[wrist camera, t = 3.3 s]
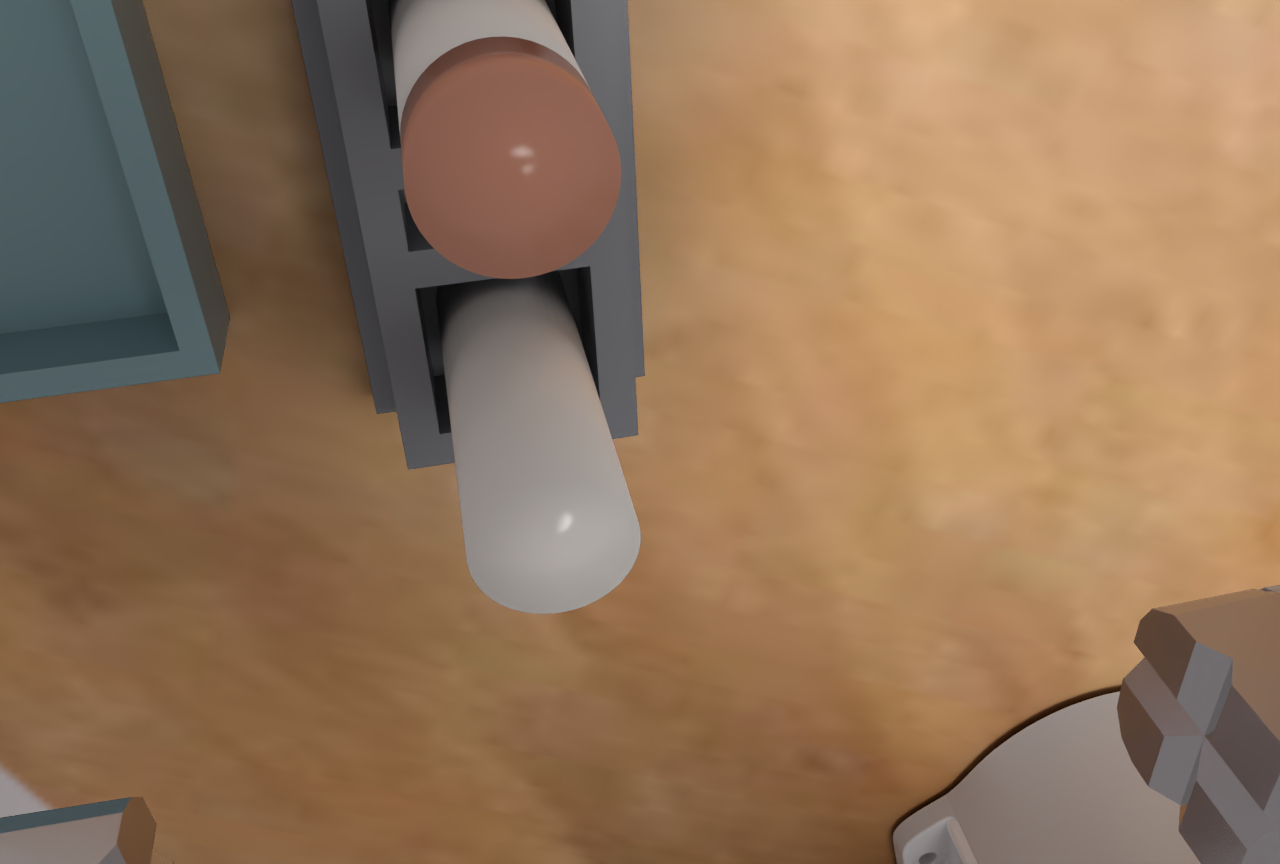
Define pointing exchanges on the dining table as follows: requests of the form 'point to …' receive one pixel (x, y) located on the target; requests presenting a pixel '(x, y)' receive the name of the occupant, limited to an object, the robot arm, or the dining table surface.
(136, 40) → the tray
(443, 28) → the capped peg
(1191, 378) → the dining table surface
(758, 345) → the dining table surface
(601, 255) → the grey slotted rack
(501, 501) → the plain peg
